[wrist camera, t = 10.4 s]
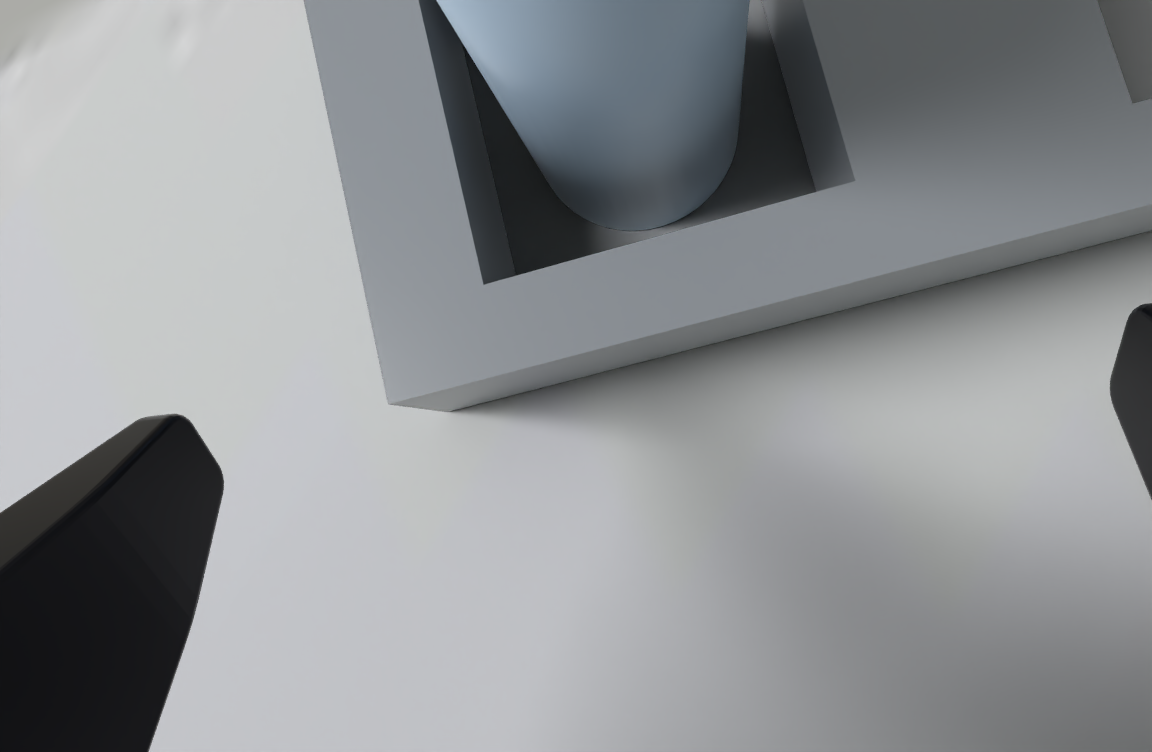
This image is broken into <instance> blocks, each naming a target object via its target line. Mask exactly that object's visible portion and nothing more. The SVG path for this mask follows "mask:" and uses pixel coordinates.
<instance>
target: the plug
mask: <svg viewBox="0 0 1152 752" xmlns="http://www.w3.org/2000/svg"><path fill="white" fill-rule="evenodd" d="M436 1H437V2H438V4H439V5H440V7H441V9H442V10H443V12H444V14H445V15H446V17H447V19H448V20H449V22H450V23H451V25H452V27H453V28H454V30H455V32H456V33H457V35H458V36H459V38H460V40H461V41H462V43H463V45H464V46H465V48H466V50H467V51H468V53H469V54H470V56H471V58H472V59H473V61H474V63H475V64H476V66H477V67H478V69H479V71H480V72H481V74H482V76H483V77H484V79H485V81H486V82H487V84H488V85H489V87H490V89H491V90H492V92H493V94H494V95H495V97H496V98H497V100H498V102H499V103H500V105H501V107H502V108H503V110H504V112H505V113H506V115H507V116H508V118H509V120H510V121H511V123H512V125H513V126H514V128H515V129H516V131H517V133H518V134H519V136H520V138H521V139H522V141H523V143H524V144H525V146H526V147H527V149H528V151H529V152H530V154H531V156H532V157H533V159H534V160H535V162H536V164H537V165H538V167H539V169H540V170H541V172H542V173H543V175H544V177H545V178H546V180H547V182H548V183H549V185H550V186H551V188H552V189H553V191H554V192H555V194H556V195H557V196H558V197H559V198H560V200H561V201H562V202H563V203H564V204H565V205H566V206H567V207H569V208H570V209H571V210H572V211H573V212H575V213H576V214H578V215H579V216H581V217H583V218H584V219H586V220H588V221H590V222H593V223H595V224H597V225H600V226H604V227H607V228H611V229H618V230H632V231H637V230H646V229H652V228H657V227H661V226H664V225H667V224H669V223H672V222H675V221H677V220H679V219H681V218H683V217H684V216H686V215H688V214H690V213H691V212H692V211H694V210H695V209H697V208H698V207H699V206H700V205H702V204H703V203H704V202H705V201H706V200H707V199H708V198H709V197H710V196H711V195H712V194H713V193H714V191H715V190H716V189H717V188H718V186H719V185H720V183H721V182H722V180H723V179H724V177H725V176H726V174H727V172H728V170H729V167H730V165H731V163H732V160H733V157H734V154H735V151H736V145H737V140H738V130H739V118H740V106H741V94H742V82H743V70H744V58H745V47H746V35H747V23H748V11H749V0H436Z"/></svg>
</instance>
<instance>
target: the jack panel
mask: <svg viewBox="0 0 1152 752" xmlns="http://www.w3.org/2000/svg"><path fill="white" fill-rule="evenodd" d="M761 1H762V4H763V8H764V11H765V15H766V18H767V22H768V25H769V29H770V32H771V36H772V39H773V43H774V46H775V50H776V53H777V57H778V60H779V64H780V67H781V71H782V74H783V78H784V81H785V85H786V88H787V92H788V95H789V99H790V102H791V106H792V109H793V113H794V116H795V120H796V123H797V127H798V130H799V134H800V137H801V141H802V144H803V148H804V151H805V155H806V158H807V162H808V165H809V169H810V172H811V176H812V179H813V183H814V186H815V190H816V192H814V193H810V194H807V195H803V196H800V197H796V198H793V199H789V200H785V201H782V202H778V203H775V204H771V205H767V206H764V207H760V208H757V209H753V210H750V211H746V212H742V213H739V214H735V215H732V216H728V217H724V218H721V219H717V220H714V221H710V222H707V223H703V224H699V225H696V226H692V227H689V228H685V229H682V230H678V231H674V232H671V233H667V234H664V235H660V236H656V237H653V238H649V239H646V240H642V241H639V242H635V243H631V244H628V245H624V246H621V247H617V248H613V249H610V250H606V251H603V252H599V253H596V254H592V255H588V256H585V257H581V258H578V259H574V260H570V261H567V262H563V263H560V264H556V265H553V266H549V267H545V268H542V269H538V270H535V271H531V272H527V273H524V274H520V275H517V276H516V273H515V268H514V264H513V260H512V256H511V251H510V247H509V243H508V239H507V234H506V230H505V226H504V221H503V217H502V213H501V209H500V204H499V200H498V196H497V192H496V187H495V183H494V179H493V174H492V170H491V166H490V162H489V157H488V153H487V149H486V144H485V140H484V136H483V132H482V127H481V123H480V119H479V115H478V110H477V106H476V102H475V97H474V93H473V89H472V85H471V80H470V76H469V72H468V68H467V63H466V59H465V55H464V50H463V46H462V42H461V40H460V38H459V36H458V35H457V33H456V32H455V30H454V28H453V27H452V25H451V23H450V22H449V20H448V19H447V17H446V15H445V14H444V12H443V10H442V9H441V7H440V5H439V4H438V2H437V1H436V0H304V4H305V9H306V14H307V18H308V23H309V28H310V33H311V38H312V42H313V47H314V52H315V57H316V62H317V66H318V71H319V76H320V81H321V85H322V90H323V95H324V100H325V105H326V109H327V114H328V119H329V124H330V129H331V133H332V138H333V143H334V148H335V152H336V157H337V162H338V167H339V172H340V176H341V181H342V186H343V191H344V196H345V200H346V205H347V210H348V215H349V219H350V224H351V229H352V234H353V239H354V243H355V248H356V253H357V258H358V263H359V267H360V272H361V277H362V282H363V286H364V291H365V296H366V301H367V306H368V310H369V315H370V320H371V325H372V330H373V334H374V339H375V344H376V349H377V354H378V358H379V363H380V368H381V373H382V377H383V382H384V387H385V392H386V397H387V401H388V404H390V405H398V406H405V407H413V408H420V409H428V410H435V411H442V412H449V411H453V410H457V409H461V408H465V407H469V406H473V405H477V404H480V403H484V402H488V401H492V400H496V399H500V398H504V397H508V396H511V395H515V394H519V393H523V392H527V391H531V390H535V389H539V388H542V387H546V386H550V385H554V384H558V383H562V382H566V381H570V380H574V379H577V378H581V377H585V376H589V375H593V374H597V373H601V372H605V371H608V370H612V369H616V368H620V367H624V366H628V365H632V364H636V363H639V362H643V361H647V360H651V359H655V358H659V357H663V356H667V355H671V354H674V353H678V352H682V351H686V350H690V349H694V348H698V347H702V346H705V345H709V344H713V343H717V342H721V341H725V340H729V339H733V338H736V337H740V336H744V335H748V334H752V333H756V332H760V331H764V330H767V329H771V328H775V327H779V326H783V325H787V324H791V323H795V322H799V321H802V320H806V319H810V318H814V317H818V316H822V315H826V314H830V313H833V312H837V311H841V310H845V309H849V308H853V307H857V306H861V305H864V304H868V303H872V302H876V301H880V300H884V299H888V298H892V297H896V296H899V295H903V294H907V293H911V292H915V291H919V290H923V289H927V288H930V287H934V286H938V285H942V284H946V283H950V282H954V281H958V280H961V279H965V278H969V277H973V276H977V275H981V274H985V273H989V272H992V271H996V270H1000V269H1004V268H1008V267H1012V266H1016V265H1020V264H1024V263H1027V262H1031V261H1035V260H1039V259H1043V258H1047V257H1051V256H1055V255H1058V254H1062V253H1066V252H1070V251H1074V250H1078V249H1082V248H1086V247H1089V246H1093V245H1097V244H1101V243H1105V242H1109V241H1113V240H1117V239H1121V238H1124V237H1128V236H1132V235H1136V234H1140V233H1144V232H1148V231H1152V98H1151V99H1147V100H1144V101H1140V102H1136V103H1132V100H1131V97H1130V94H1129V91H1128V88H1127V86H1126V83H1125V80H1124V77H1123V74H1122V71H1121V68H1120V65H1119V62H1118V59H1117V56H1116V53H1115V51H1114V48H1113V45H1112V42H1111V39H1110V36H1109V33H1108V30H1107V27H1106V24H1105V21H1104V18H1103V16H1102V13H1101V10H1100V7H1099V4H1098V1H1097V0H761Z"/></svg>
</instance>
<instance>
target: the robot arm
mask: <svg viewBox="0 0 1152 752" xmlns="http://www.w3.org/2000/svg"><path fill="white" fill-rule="evenodd" d="M1110 395H1111V400H1112V404H1113V407H1114V409H1115V412H1116V414H1117V417H1118V419H1119V421H1120V424H1121V426H1122V429H1123V431H1124V434H1125V436H1126V439H1127V441H1128V443H1129V446H1130V448H1131V451H1132V453H1133V456H1134V458H1135V460H1136V463H1137V465H1138V468H1139V470H1140V473H1141V475H1142V477H1143V480H1144V482H1145V485H1146V487H1147V490H1148V492H1149V495H1150V497H1151V499H1152V303H1150V304H1143V305H1141V306H1139V307H1137V308H1136V309H1134V310H1133V311H1132V313H1131V314H1130V315H1129V318H1128V320H1127V323H1126V326H1125V330H1124V333H1123V337H1122V340H1121V344H1120V347H1119V350H1118V354H1117V357H1116V361H1115V364H1114V368H1113V371H1112V375H1111V380H1110ZM223 490H224V480H223V474H222V471H221V468H220V466H219V465H218V463H217V461H216V460H215V458H214V457H213V455H212V454H211V452H210V451H209V449H208V447H207V446H206V444H205V443H204V441H203V440H202V438H201V437H200V435H199V433H198V432H197V430H196V429H195V427H194V426H193V424H192V423H191V422H190V420H188V419H187V418H186V417H184V416H183V415H179V414H167V415H158V416H149V417H144V418H141V419H139V420H137V421H135V422H134V423H132V424H131V425H129V426H128V427H126V428H125V429H123V430H122V431H121V432H119V433H118V434H116V435H115V436H113V437H112V438H110V439H109V440H107V441H106V442H104V443H103V444H101V445H100V446H98V447H97V448H95V449H94V450H92V451H91V452H89V453H88V454H87V455H85V456H84V457H82V458H81V459H79V460H78V461H76V462H75V463H73V464H72V465H70V466H69V467H67V468H66V469H64V470H63V471H61V472H60V473H58V474H57V475H55V476H54V477H53V478H51V479H50V480H48V481H47V482H45V483H44V484H42V485H41V486H39V487H38V488H36V489H35V490H33V491H32V492H30V493H29V494H27V495H26V496H24V497H23V498H21V499H20V500H18V501H17V502H16V503H14V504H13V505H11V506H10V507H8V508H7V509H5V510H4V511H2V512H1V513H0V752H149V749H150V746H151V743H152V740H153V737H154V734H155V732H156V729H157V726H158V723H159V720H160V717H161V714H162V711H163V708H164V705H165V702H166V700H167V697H168V694H169V691H170V688H171V685H172V682H173V679H174V676H175V673H176V670H177V667H178V665H179V662H180V659H181V656H182V653H183V650H184V647H185V644H186V641H187V638H188V635H189V632H190V628H191V625H192V622H193V618H194V615H195V611H196V607H197V603H198V599H199V595H200V591H201V586H202V582H203V578H204V573H205V569H206V565H207V560H208V556H209V552H210V547H211V543H212V539H213V534H214V530H215V526H216V521H217V517H218V513H219V508H220V504H221V500H222V495H223Z"/></svg>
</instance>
